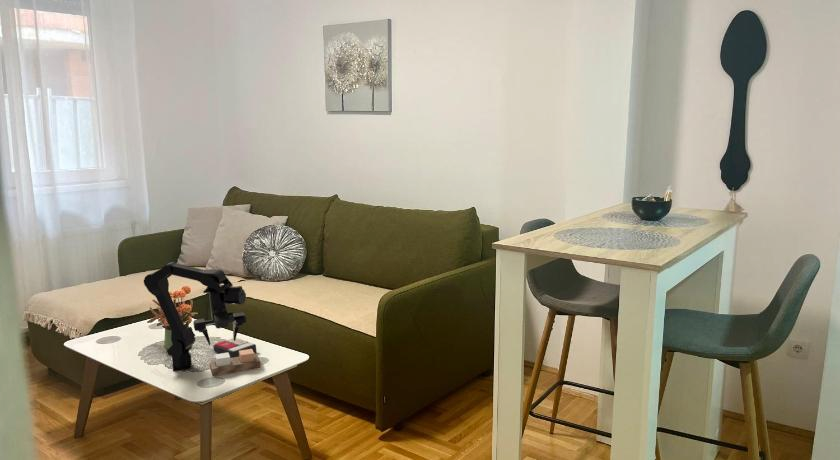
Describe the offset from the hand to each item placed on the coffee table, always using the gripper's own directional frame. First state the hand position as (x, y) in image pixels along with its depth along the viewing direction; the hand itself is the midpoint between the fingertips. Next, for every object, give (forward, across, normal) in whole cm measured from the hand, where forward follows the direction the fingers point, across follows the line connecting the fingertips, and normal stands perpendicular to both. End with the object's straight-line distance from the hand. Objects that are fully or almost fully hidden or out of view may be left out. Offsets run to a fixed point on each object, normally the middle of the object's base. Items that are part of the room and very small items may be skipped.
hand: (222, 342), depth 237 cm
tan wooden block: (+9, +9, 0) cm, 13 cm away
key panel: (+11, +4, 0) cm, 12 cm away
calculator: (+12, +7, +18) cm, 22 cm away
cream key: (+9, 0, 0) cm, 9 cm away
